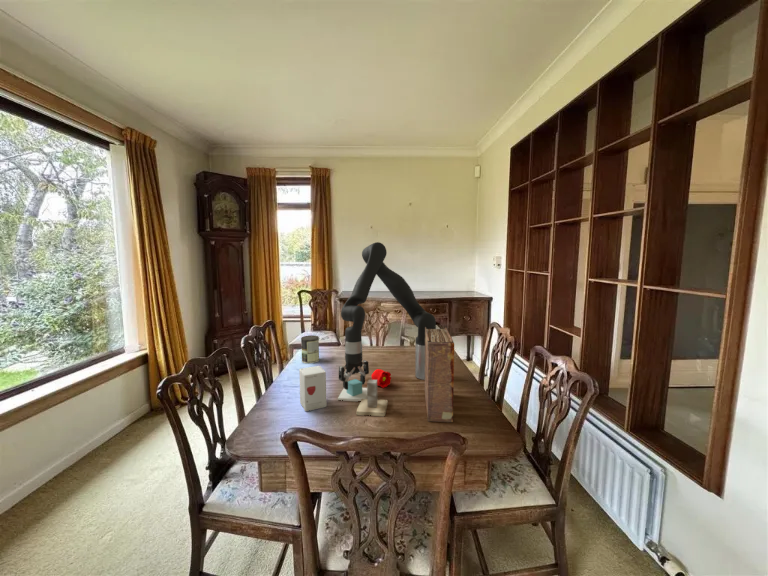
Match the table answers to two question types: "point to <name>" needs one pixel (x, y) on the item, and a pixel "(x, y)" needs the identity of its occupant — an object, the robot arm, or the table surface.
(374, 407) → the post stand
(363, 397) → the pad
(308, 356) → the coffee can
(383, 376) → the flower
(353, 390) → the teal cube block
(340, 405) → the table surface
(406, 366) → the table surface
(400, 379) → the table surface
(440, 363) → the book
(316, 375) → the supplement box
